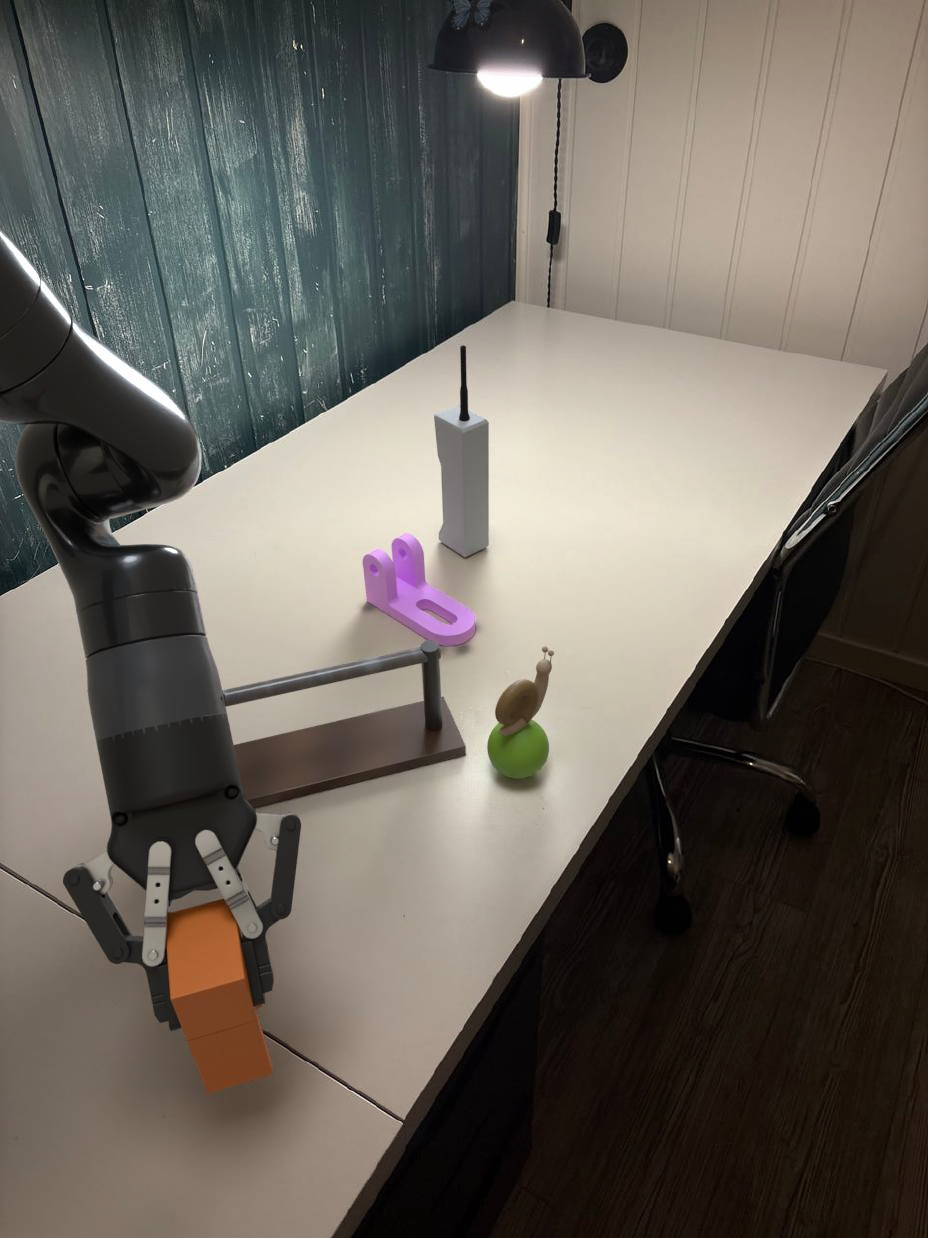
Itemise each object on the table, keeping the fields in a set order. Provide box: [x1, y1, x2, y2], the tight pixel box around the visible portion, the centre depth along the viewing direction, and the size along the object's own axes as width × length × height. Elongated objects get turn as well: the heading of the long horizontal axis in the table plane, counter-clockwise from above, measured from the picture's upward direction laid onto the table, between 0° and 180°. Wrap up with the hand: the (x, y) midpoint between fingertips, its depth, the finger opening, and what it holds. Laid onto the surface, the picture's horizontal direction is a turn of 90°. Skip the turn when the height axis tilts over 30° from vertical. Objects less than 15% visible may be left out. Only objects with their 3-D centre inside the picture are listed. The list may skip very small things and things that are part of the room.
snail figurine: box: [486, 645, 555, 780], centre depth 79 cm, size 5×6×12 cm
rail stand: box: [222, 640, 467, 809], centre depth 80 cm, size 24×7×11 cm, turn 108°
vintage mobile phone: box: [433, 344, 490, 558], centre depth 103 cm, size 4×5×25 cm
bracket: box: [362, 532, 476, 647], centre depth 98 cm, size 13×6×7 cm, turn 46°
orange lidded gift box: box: [166, 898, 274, 1095], centre depth 55 cm, size 4×6×11 cm
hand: (219, 1012), depth 53 cm, fingers closed on orange lidded gift box, 4 cm apart
